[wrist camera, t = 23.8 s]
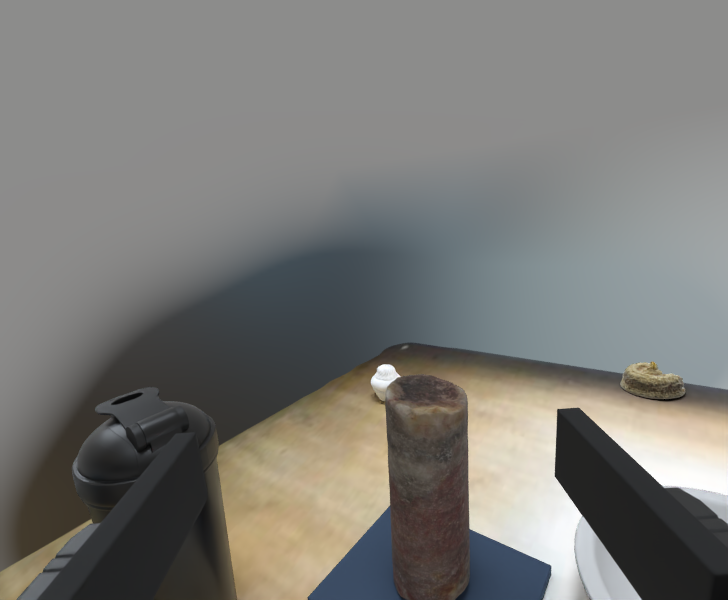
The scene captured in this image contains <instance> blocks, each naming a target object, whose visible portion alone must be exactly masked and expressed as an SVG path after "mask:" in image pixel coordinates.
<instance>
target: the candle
mask: <svg viewBox="0 0 728 600" xmlns="http://www.w3.org/2000/svg"><path fill="white" fill-rule="evenodd" d="M385 405H386V423H387V440H388V467H389V485H390V514H391V516H390V519H391V539H392V562H393V578H394V583H395V586H396V589H397V591H398V593H399V594H400V596H401V597H403V598H404V599H407V600H455V599H456V598H457V597H458V596H459V595H460V594H461V593H462V592H463V591H464V590H465V588H466V587H467V586H468V583H469V578H470V539H469V491H468V401H467V395H466V393H465V391H464V390H463V389H462V388H460V387H459V386H457V385H454V384H453V383H451V382H449V381H445V380H442V379H439V378H436V377H434V376H431V375H424V374H418V375H409V376H403V377H397V378H396V379H395V380H394V381H392V382H391V383H390V384H389V385H388V386H387V389H386V397H385Z"/></svg>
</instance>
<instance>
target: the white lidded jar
mask: <svg viewBox="0 0 728 600" xmlns="http://www.w3.org/2000/svg"><path fill="white" fill-rule="evenodd" d="M397 377H400V375H398V374H397V372H396V371H395V368H394V367H393V366H392V365H387V364H386V365H381V366H379V367H378V369H377V373H376V374H375V375H374V376H373V377H372V379H371V385H372V387H373V389H374V391H375V393H376V394H377V396H378V397H379V399H380V400H382V401H385V397H386V389H387V386H388V385H389V384H390V383H391V382H392V381H394V380H395V379H396V378H397Z"/></svg>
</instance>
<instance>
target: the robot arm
mask: <svg viewBox="0 0 728 600" xmlns="http://www.w3.org/2000/svg"><path fill="white" fill-rule="evenodd" d="M555 477H556V479H557V480H558V481H559V483H560V484H561V486H562V487H563V488H564V490H565V491H566V493H567V494H568V496H569V497H570V498H571V500H572V501H573V503H574V504H575V506H576V507H577V508H578V510H579V511H580V513H581V514H582V515H583V517H584V518H585V520H586V521H587V523H588V524H589V525H590V527H591V528H592V530H593V531H594V533H595V534H596V535H597V537H598V538H599V540H600V541H601V542H602V544H603V545H604V547H605V548H606V550H607V551H608V552H609V554H610V555H611V557H612V558H613V560H614V561H615V562H616V564H617V565H618V567H619V568H620V570H621V571H622V572H623V574H624V575H625V577H626V578H627V579H628V581H629V582H630V584H631V585H632V587H633V588H634V589H635V591H636V592H637V594H638V595H639V597H640V598H641V599H642V600H728V524H727V523H726V522H725V521H724V520H722V519H721V518H720V519H719V518H718V515H717V514H716V513H714V512H713V511H712V510H711V509H710V508H709V507H708V506H706V505H705V504H704V503H703V502H702V501H701V500H699V499H698V498H696V497H694V496H692V495H691V494H689V493H687V492H685V491H683V490H682V489H680V488H678V487H674V488H664V487H663V486H662V485H660V484H659V483H658V482H657V481H656V480H655V479H654V478H653V477H652V476H651V475H650V474H649V473H648V472H647V471H646V470H645V469H643V468H642V467H641V466H640V465H639V464H638V463H637V462H636V461H635V460H634V459H633V458H632V457H631V456H630V455H629V454H628V453H626V452H625V451H624V450H623V449H622V448H621V447H620V446H619V445H618V444H617V443H616V442H615V441H614V440H613V439H612V438H611V437H609V436H608V435H607V434H606V433H605V432H604V431H603V430H602V429H601V428H600V427H599V426H598V425H597V424H596V423H595V422H594V421H592V420H591V419H590V418H589V417H588V416H587V415H586V414H585V413H584V412H583V411H582V410H581V409H580V408H568V409H557V434H556V458H555ZM207 499H208V493H207V487H206V482H205V477H204V471H203V466H202V461H201V455H200V450H199V445H198V439H197V434H196V432H194V433H178V434H175V435H174V436H173V437H172V439H171V440H170V441H169V442H168V443H167V444H166V446H165V447H164V448H163V449H162V450H161V452H160V453H159V454H158V455H157V456H156V458H155V459H154V460H153V461H152V462H151V464H150V465H149V466H148V467H147V468H146V470H145V471H144V472H143V473H142V474H141V476H140V477H139V478H138V479H137V480H136V482H135V483H134V484H133V485H132V486H131V488H130V489H129V490H128V491H127V492H126V493H125V495H124V496H123V497H122V498H121V499H120V501H119V502H118V503H117V504H116V505H115V507H114V508H113V509H112V510H111V511H110V513H109V514H108V515H107V516H106V517H105V519H104V520H103V521H102V522H101V523H94V524H89V525H88V526H87V527H85V528H84V529H83V530H81V531H80V532H79V533H77V534H76V535H75V536H73V537H72V538H71V539H70V540H69V541H68V542H67V543H66V544H65V546H64V547H63V548H62V549H61V550H60V551H59V552H58V553H57V555H56V557H55V559H52V560H51V561H50V562H49V564H48V565H47V566H46V567H45V568H44V569H43V572H42V573H40V574H39V575H38V576H37V577H36V578H35V579H34V580H33V582H32V583H31V584H30V585H29V586H28V587H27V588H26V589H25V591H24V592H23V593H22V594H21V595H20V596H19V597H18V598H17V600H153V599H154V597H155V595H156V593H157V591H158V589H159V587H160V586H161V584H162V582H163V580H164V578H165V576H166V575H167V573H168V571H169V569H170V567H171V565H172V563H173V562H174V560H175V558H176V556H177V554H178V552H179V550H180V549H181V547H182V545H183V543H184V541H185V539H186V538H187V536H188V534H189V532H190V530H191V528H192V526H193V525H194V523H195V521H196V519H197V517H198V515H199V513H200V512H201V510H202V508H203V506H204V504H205V502H206V501H207Z"/></svg>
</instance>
